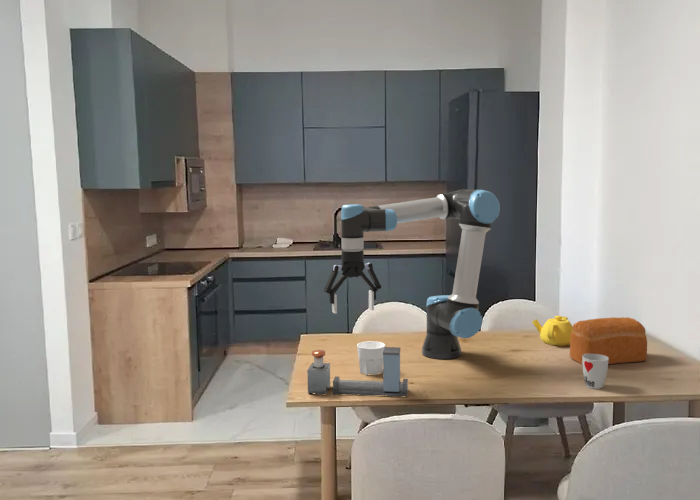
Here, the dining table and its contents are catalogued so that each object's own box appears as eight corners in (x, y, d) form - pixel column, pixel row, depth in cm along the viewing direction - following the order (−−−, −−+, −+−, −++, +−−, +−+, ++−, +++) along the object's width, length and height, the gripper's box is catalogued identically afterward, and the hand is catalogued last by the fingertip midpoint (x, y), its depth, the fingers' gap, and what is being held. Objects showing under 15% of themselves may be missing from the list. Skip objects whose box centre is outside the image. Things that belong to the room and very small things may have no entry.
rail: (407, 389, 213) (407, 377, 212) (406, 397, 206) (406, 384, 205) (335, 387, 216) (335, 375, 215) (332, 394, 209) (332, 382, 209)
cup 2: (577, 382, 217) (578, 354, 216) (600, 381, 218) (601, 353, 217) (588, 391, 209) (589, 361, 208) (612, 390, 210) (613, 360, 209)
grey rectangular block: (400, 385, 212) (400, 347, 211) (399, 392, 206) (399, 352, 205) (384, 385, 213) (384, 347, 211) (383, 391, 207) (382, 352, 205)
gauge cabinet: (330, 386, 217) (329, 363, 216) (326, 394, 209) (325, 370, 208) (312, 385, 217) (312, 362, 216) (307, 393, 210) (307, 370, 209)
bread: (650, 362, 239) (652, 320, 237) (586, 367, 234) (588, 325, 232) (627, 352, 253) (628, 312, 251) (566, 357, 247) (567, 316, 245)
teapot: (539, 333, 282) (540, 308, 281) (582, 339, 272) (583, 313, 270) (522, 343, 266) (523, 317, 265) (567, 350, 256) (568, 323, 254)
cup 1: (357, 367, 237) (357, 341, 236) (384, 367, 237) (384, 341, 235) (357, 376, 227) (356, 348, 226) (385, 376, 227) (385, 348, 225)
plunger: (326, 376, 214) (326, 350, 213) (324, 380, 210) (323, 353, 209) (313, 376, 215) (313, 349, 214) (311, 380, 211) (310, 353, 210)
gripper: (381, 246, 228) (381, 305, 230) (314, 250, 219) (315, 312, 221) (390, 249, 221) (390, 310, 223) (321, 253, 212) (322, 316, 214)
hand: (353, 311), depth 222 cm, fingers open, 13 cm apart
